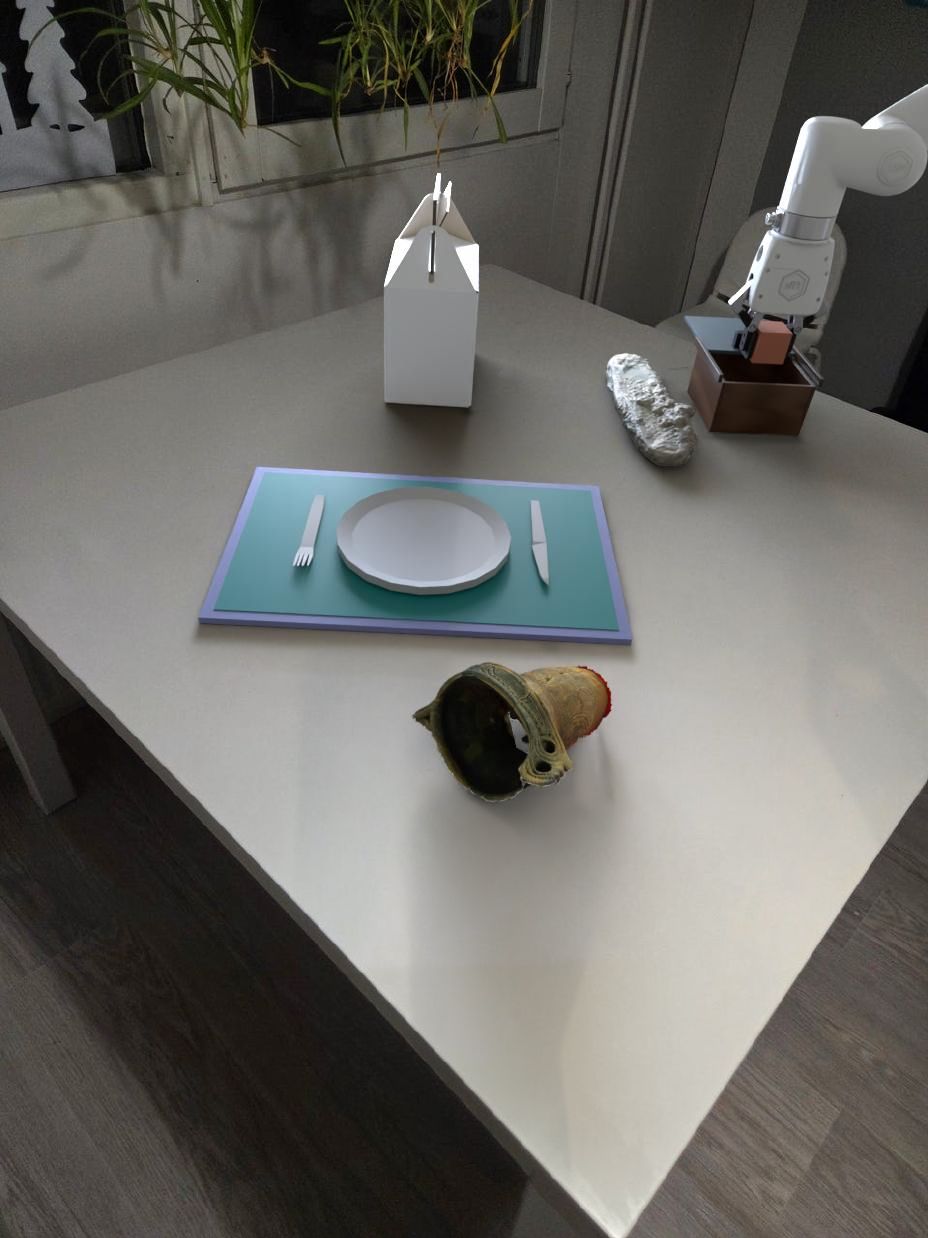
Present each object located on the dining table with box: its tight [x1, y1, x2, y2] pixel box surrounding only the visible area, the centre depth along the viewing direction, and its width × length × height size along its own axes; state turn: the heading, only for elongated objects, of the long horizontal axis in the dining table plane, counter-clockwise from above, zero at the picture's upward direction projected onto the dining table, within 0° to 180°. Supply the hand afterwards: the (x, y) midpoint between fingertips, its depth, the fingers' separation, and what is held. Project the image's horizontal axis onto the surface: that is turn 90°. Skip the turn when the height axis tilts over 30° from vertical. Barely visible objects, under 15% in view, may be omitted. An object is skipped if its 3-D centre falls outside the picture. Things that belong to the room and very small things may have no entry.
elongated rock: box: [605, 352, 698, 467], centre depth 126 cm, size 35×5×10 cm
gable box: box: [383, 173, 480, 409], centre depth 125 cm, size 22×13×28 cm, turn 179°
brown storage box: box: [686, 337, 825, 437], centre depth 127 cm, size 16×14×9 cm
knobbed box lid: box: [684, 315, 795, 358], centre depth 131 cm, size 14×14×3 cm
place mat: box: [198, 466, 634, 646], centre depth 96 cm, size 45×30×2 cm
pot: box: [411, 661, 613, 804], centre depth 72 cm, size 17×11×18 cm
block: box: [750, 320, 792, 364], centre depth 121 cm, size 5×5×5 cm
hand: (763, 354), depth 122 cm, fingers closed on block, 4 cm apart
